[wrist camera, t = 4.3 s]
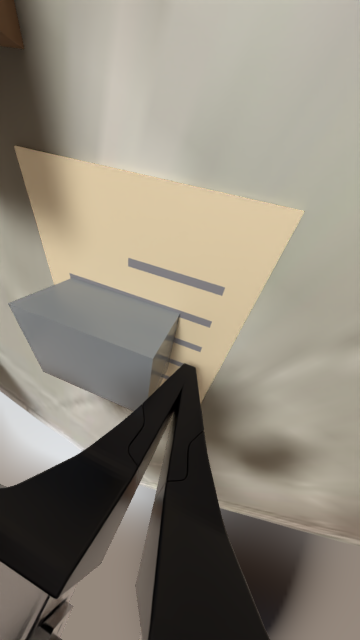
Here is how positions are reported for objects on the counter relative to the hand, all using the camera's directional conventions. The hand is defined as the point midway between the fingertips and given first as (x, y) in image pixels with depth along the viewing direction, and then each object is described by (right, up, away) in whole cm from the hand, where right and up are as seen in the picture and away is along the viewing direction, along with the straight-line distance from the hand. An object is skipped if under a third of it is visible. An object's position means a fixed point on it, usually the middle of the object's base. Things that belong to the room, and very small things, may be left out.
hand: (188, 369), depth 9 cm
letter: (-4, +2, +2) cm, 4 cm away
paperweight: (-4, +2, +2) cm, 5 cm away
